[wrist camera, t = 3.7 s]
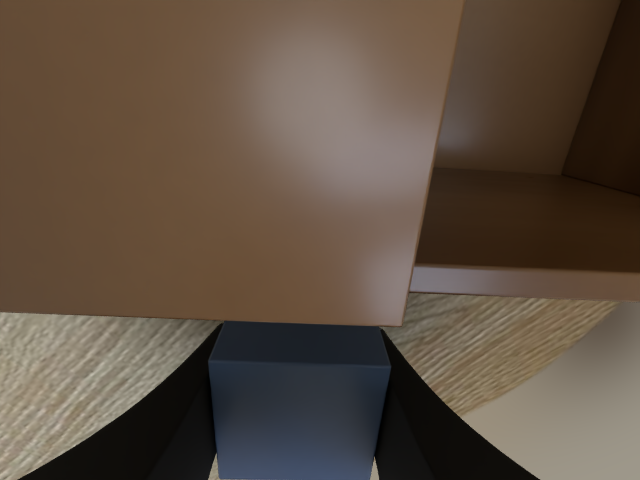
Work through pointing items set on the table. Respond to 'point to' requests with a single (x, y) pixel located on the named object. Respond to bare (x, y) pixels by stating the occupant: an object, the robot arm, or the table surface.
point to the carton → (315, 156)
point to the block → (297, 400)
